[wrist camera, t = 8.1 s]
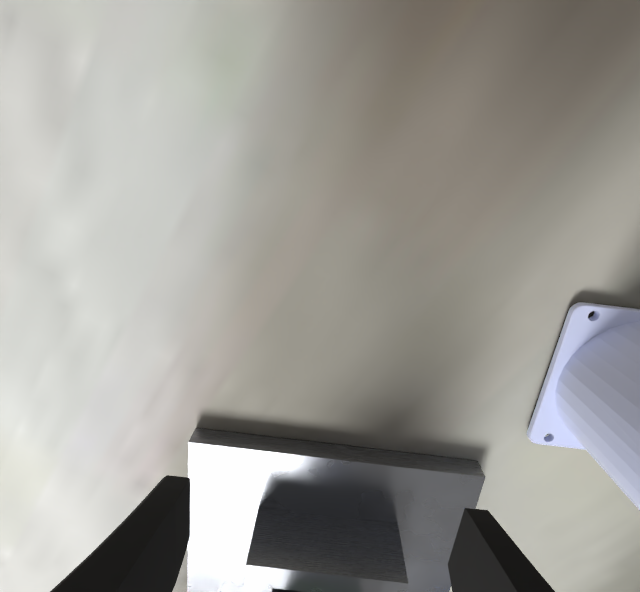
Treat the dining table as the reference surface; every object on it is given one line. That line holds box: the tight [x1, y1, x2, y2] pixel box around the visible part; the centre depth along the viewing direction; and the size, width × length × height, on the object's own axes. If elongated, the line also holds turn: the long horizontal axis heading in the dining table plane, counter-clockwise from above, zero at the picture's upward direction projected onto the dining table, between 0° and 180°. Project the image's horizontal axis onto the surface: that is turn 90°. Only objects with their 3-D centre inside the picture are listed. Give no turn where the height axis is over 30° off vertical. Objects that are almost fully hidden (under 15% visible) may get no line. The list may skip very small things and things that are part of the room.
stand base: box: [187, 428, 485, 592], centre depth 22 cm, size 16×16×4 cm
